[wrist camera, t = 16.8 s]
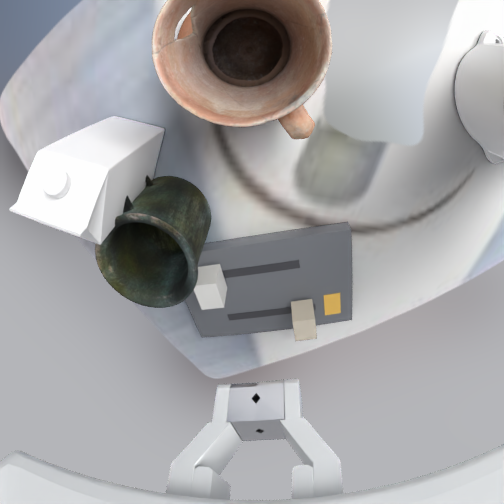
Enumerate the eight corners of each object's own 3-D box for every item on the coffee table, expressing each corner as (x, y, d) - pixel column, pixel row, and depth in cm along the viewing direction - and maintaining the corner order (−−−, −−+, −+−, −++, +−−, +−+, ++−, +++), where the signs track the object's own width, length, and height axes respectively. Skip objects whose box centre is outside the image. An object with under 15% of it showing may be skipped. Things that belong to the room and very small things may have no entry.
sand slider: (311, 298, 43) (315, 318, 40) (313, 318, 45) (316, 338, 42) (290, 301, 44) (292, 321, 40) (293, 321, 46) (295, 341, 42)
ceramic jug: (154, 28, 27) (92, 17, 15) (268, -36, 22) (268, -89, 10) (238, 150, 35) (223, 202, 23) (349, 94, 30) (398, 117, 19)
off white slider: (219, 263, 40) (215, 283, 37) (227, 287, 43) (224, 307, 39) (198, 267, 41) (192, 286, 38) (206, 290, 43) (201, 309, 40)
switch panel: (347, 221, 39) (351, 229, 37) (349, 310, 47) (352, 320, 46) (170, 248, 42) (166, 257, 41) (203, 328, 51) (201, 337, 49)
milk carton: (153, 181, 37) (80, 273, 21) (104, 167, 36) (13, 246, 20) (166, 128, 33) (82, 190, 17) (113, 115, 32) (7, 167, 16)
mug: (159, 257, 43) (132, 316, 33) (109, 168, 36) (59, 209, 26) (228, 235, 41) (216, 296, 31) (180, 132, 34) (144, 163, 24)
